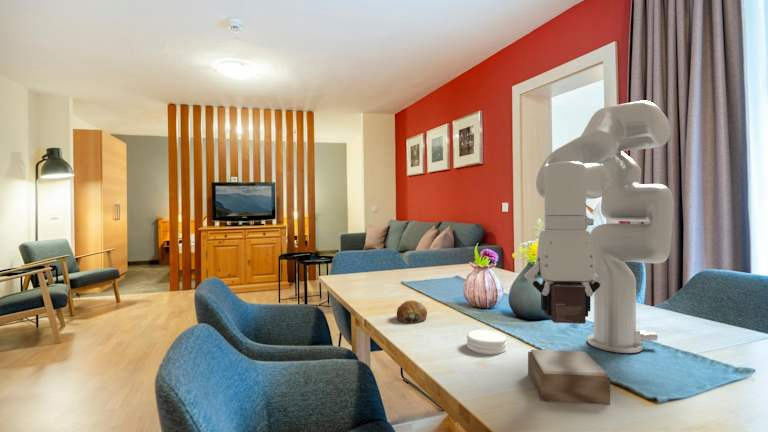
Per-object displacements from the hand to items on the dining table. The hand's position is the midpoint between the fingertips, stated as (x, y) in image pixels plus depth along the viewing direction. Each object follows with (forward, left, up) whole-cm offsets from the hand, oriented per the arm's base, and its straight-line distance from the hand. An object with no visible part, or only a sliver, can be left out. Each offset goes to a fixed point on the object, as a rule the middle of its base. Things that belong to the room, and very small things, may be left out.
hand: (565, 313), depth 80 cm
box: (0, 0, -1) cm, 1 cm away
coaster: (+13, -22, -15) cm, 30 cm away
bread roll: (+34, -47, -15) cm, 60 cm away
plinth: (0, 0, -15) cm, 15 cm away
